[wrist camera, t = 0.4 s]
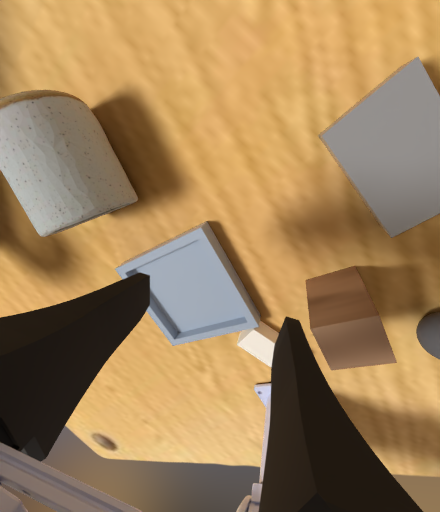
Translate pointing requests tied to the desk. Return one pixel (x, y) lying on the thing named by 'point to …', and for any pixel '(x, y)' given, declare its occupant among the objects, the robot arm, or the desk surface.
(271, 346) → the bar
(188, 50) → the desk surface
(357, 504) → the robot arm
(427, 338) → the rubber ball
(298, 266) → the desk surface
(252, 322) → the tray
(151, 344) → the desk surface
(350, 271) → the walnut block
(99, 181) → the ceramic mug
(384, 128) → the grey box
